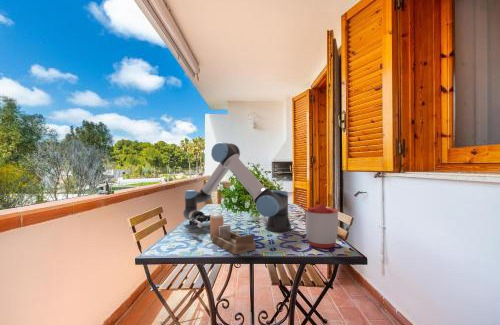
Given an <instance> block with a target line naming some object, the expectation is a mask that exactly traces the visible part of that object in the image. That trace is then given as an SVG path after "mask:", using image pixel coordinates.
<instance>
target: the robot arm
mask: <svg viewBox="0 0 500 325" xmlns="http://www.w3.org/2000/svg"><path fill="white" fill-rule="evenodd" d="M210 154H211V158H212V160H213V161H214V162H217V163H219V164H218V165H217V167H215V169H214V171H212V173H211V175H210V176H209V178H208V179H207V181H206V182H205V183H204V185H203V186H202V187H201V189H200V191H197V190H196V189H188V190H185V192H184V193H185V194H184V204H185V205H184V206H185V207H184V210H183V212H182V216H183V217H184V218H185V219H186V220H187V221H188V225H189V226H192V227H195V226H197V227H198V228H200V229H201V228H202V223H203V222H204V223H206V222H210V215H211V214H207V215H206V214H205V213H204V212H202V211H200V210H198V204H200V203H205V202H208V201H210V200H211V197H212V194H213V192H214V191H215V189H216V188H217V187H218V186H219V184H220V183H221V182H222V180H223V179H224V177H225V176H226V174H228V172H229V171H230V173H232V174H233V175H234V177H235V178H236V179H237V181H238V182H240V183H241V185H242V186H243V187H244V188H245V189H246V191H247V192H248V193H249V195H251V197H252V198H253V203H254V204H255V206H256V207H255V209H256V211H257V213H259V215H261V216H263V217H266V218H267V220H266V224H265V229H266V230H267V231H270V232H280V233H281V232H288V231H291V230H292V223H291V221H290V217H289V194H288V191H286V190H271V189H270V188H269V187H265V186H264V185H263V184H262V183H261V182H260V180H258V178H257V177H256V176H255V175H254V174H253V173H252V171H251V170H250V169H249V168H248V167H247V166H246V165H245V164H244V163H243V161H241V159H240V154H241V150H240V148H239V146H237V145H236V144H235V143H229V142H228V143H227V142H223V141H221V142H216V143H215V144H213V146H212V149H211V153H210ZM224 223H225V222H224V218H223V225H224Z"/></svg>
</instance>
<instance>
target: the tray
mask: <svg viewBox="0 0 500 325" xmlns="http://www.w3.org/2000/svg"><path fill="white" fill-rule="evenodd" d="M254 236H255V235H254V234H253V233H251V234H247V235H240V234H238V233H235V232H233V231H230V239H225V240H224V239H222V238H220V237H219V236H216V235H212V239H211V240H212V243H214V244H215V245H217V246H218V247H221V248H223V249H224V250H226V251H228V252H229V253H232V255H240V254H243V253H248V252H252V251H255V250H256V249H257V248H256V241H255V240H254V239H255V237H254Z"/></svg>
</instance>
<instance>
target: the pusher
mask: <svg viewBox="0 0 500 325" xmlns="http://www.w3.org/2000/svg"><path fill="white" fill-rule="evenodd" d="M230 232H231V224H226V225H224V224H223V226H219V237H220V238H222V239H224V240H225V239H230Z"/></svg>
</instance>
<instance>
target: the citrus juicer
mask: <svg viewBox="0 0 500 325" xmlns="http://www.w3.org/2000/svg"><path fill="white" fill-rule="evenodd" d="M338 212H339V210H338V209H336V208H331V207H326V206H325V205H324V204H323V203H319V204H318V205H317V206H315V207H313V206H312V207H307V209H304V215H303V216H302V217H301V220H304V221H305V232H306V233H305V234H306V237H307V241H308V244H309V245H310V246H311V247H315V248H321V249H330V248H333V247H335V246H336V245H335V244H336V242H337V239H338V233H339V213H338Z"/></svg>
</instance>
